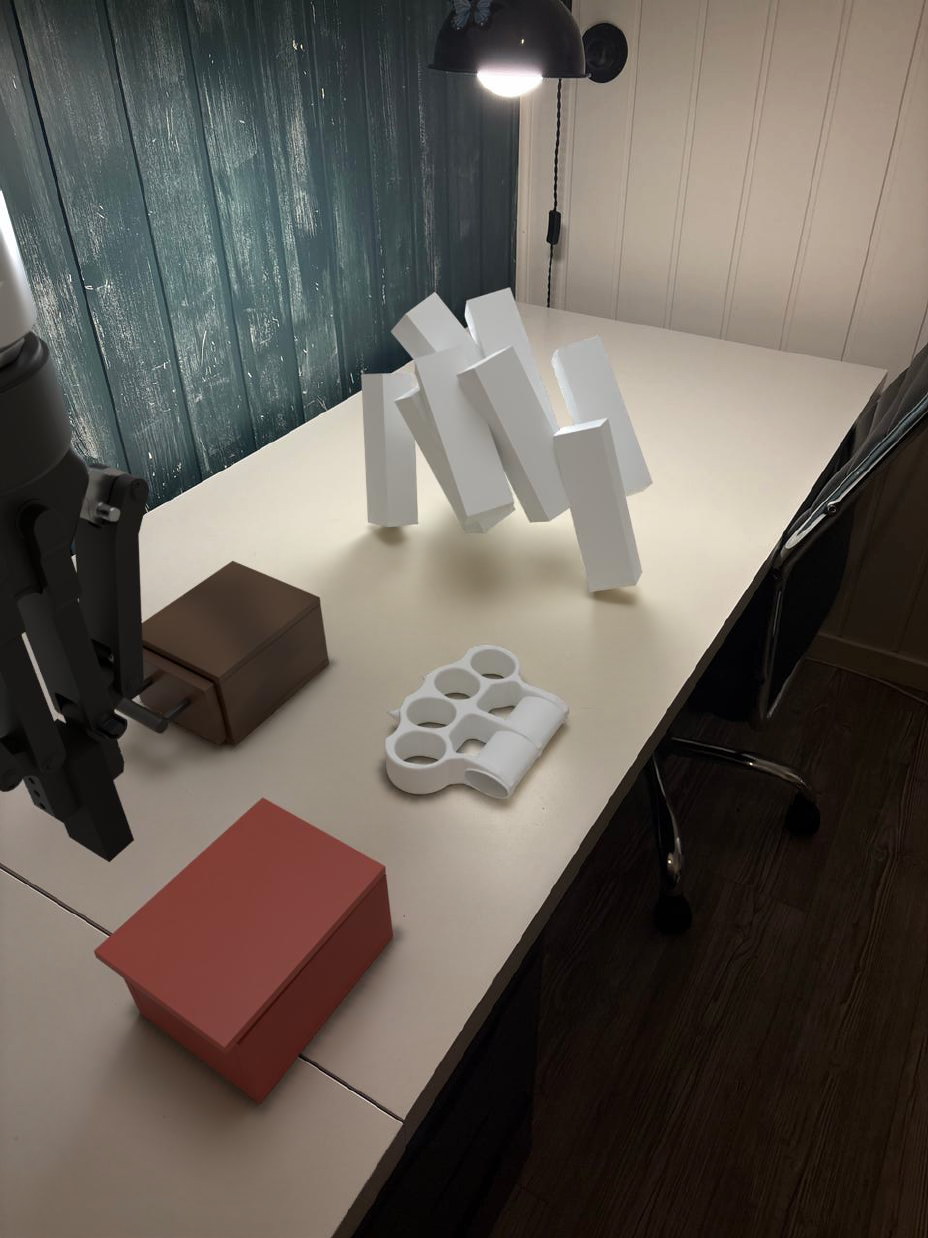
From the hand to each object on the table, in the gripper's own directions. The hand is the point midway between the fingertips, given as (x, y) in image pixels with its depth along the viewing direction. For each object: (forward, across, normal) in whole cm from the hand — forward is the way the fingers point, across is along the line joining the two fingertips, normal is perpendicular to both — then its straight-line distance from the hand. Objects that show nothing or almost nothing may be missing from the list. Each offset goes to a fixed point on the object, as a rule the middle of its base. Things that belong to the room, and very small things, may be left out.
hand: (101, 838), depth 43 cm
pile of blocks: (+27, +69, +17) cm, 76 cm away
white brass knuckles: (+27, +38, +3) cm, 46 cm away
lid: (+19, +9, +3) cm, 21 cm away
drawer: (+26, +28, +26) cm, 47 cm away
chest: (+27, +10, +3) cm, 29 cm away
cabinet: (+27, +32, +26) cm, 50 cm away
